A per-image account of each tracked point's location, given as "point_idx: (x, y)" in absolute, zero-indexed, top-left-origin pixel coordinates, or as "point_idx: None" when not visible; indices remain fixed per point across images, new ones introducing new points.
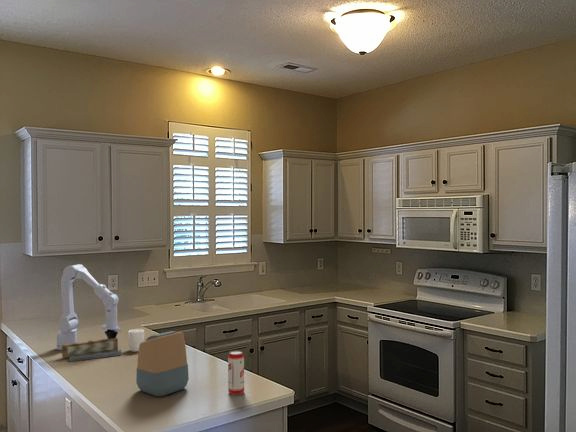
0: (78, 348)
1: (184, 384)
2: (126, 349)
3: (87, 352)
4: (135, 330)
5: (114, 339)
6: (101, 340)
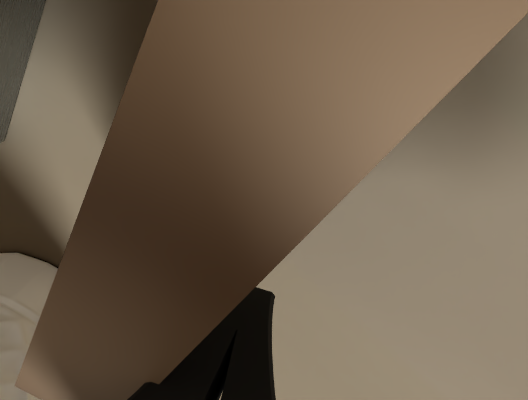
0: None
1: None
2: None
3: None
4: None
5: (31, 353)
6: (173, 171)
